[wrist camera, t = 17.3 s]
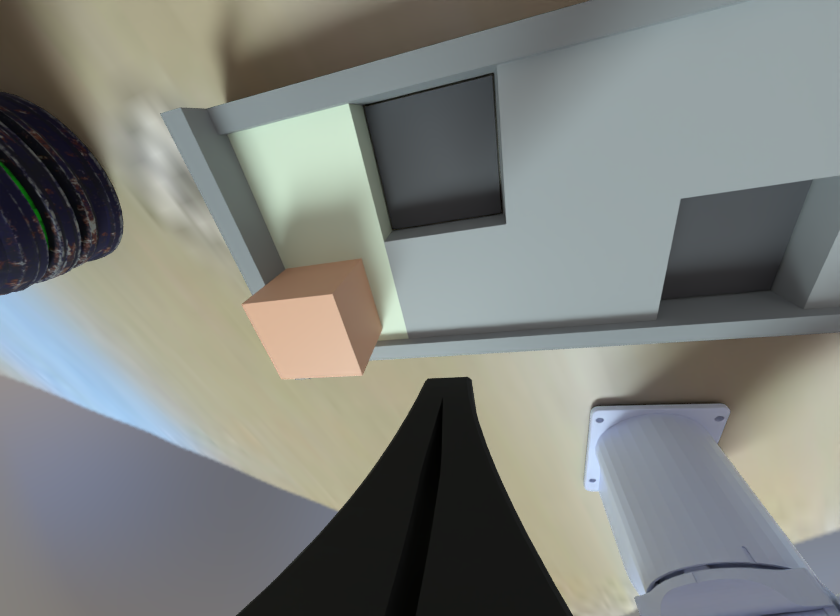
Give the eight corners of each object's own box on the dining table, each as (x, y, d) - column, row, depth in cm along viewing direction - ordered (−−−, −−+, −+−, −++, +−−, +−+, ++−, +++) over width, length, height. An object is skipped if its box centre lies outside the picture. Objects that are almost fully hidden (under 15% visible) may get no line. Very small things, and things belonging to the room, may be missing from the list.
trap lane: (910, 294, 15) (1033, 343, 12) (322, 340, 23) (295, 379, 19) (1190, -148, 9) (1645, -318, 5) (227, 115, 16) (160, 113, 12)
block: (382, 329, 19) (362, 375, 15) (314, 334, 20) (281, 379, 16) (361, 258, 17) (332, 294, 13) (286, 268, 18) (241, 304, 14)
